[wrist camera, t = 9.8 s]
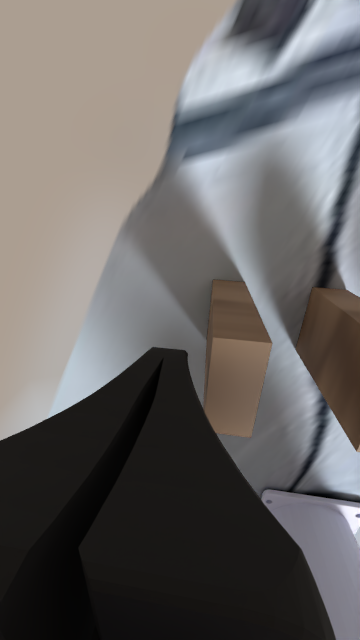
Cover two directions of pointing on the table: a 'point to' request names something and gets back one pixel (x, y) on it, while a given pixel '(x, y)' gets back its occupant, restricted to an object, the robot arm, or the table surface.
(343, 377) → the domino
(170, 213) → the table surface
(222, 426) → the domino
